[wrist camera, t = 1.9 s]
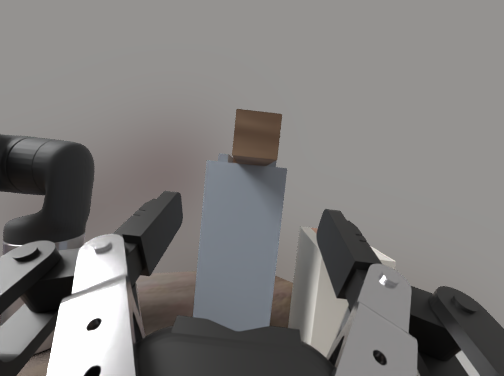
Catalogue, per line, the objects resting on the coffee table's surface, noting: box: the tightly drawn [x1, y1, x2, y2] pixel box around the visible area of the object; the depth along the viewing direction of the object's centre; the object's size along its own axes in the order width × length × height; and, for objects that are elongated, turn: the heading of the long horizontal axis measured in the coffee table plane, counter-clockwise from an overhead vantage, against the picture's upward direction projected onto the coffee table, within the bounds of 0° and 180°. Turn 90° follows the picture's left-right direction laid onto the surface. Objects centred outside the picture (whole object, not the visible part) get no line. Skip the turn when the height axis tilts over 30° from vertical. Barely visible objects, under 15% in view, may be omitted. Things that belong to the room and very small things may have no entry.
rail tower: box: [193, 154, 287, 331], centre depth 31 cm, size 13×10×33 cm
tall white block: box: [288, 227, 396, 357], centre depth 30 cm, size 13×9×22 cm
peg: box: [232, 109, 282, 166], centre depth 24 cm, size 20×6×6 cm, turn 1°
